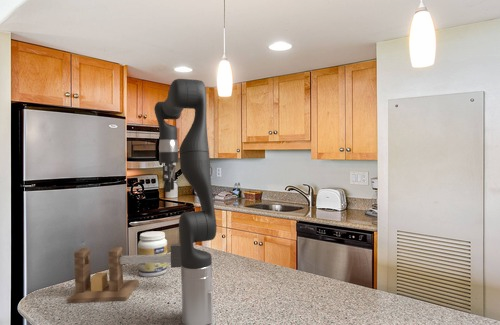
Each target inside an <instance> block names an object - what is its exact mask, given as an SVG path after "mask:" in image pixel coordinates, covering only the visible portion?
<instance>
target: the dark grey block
mask: <svg viewBox="0 0 500 325" xmlns="http://www.w3.org/2000/svg"><path fill="white" fill-rule="evenodd" d="M140 263H167V264H168V263H170V268H181V253H180V243H171V245H170V253H169V254H168V253H167V254H161V255H138V254H136V255H135V254H134V255H131V254H130V255H123V256H119V264H123V265H134V264H135V265H136V264H137V265H138V264H140Z"/></svg>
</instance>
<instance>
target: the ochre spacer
mask: <svg viewBox="0 0 500 325" xmlns="http://www.w3.org/2000/svg"><path fill="white" fill-rule="evenodd" d="M90 277H91V291H103V290H104V289H105V288H106V287H107V286H108V281H109V276H108V272H96V273H95V274H93V275H91V276H90Z"/></svg>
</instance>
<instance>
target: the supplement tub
mask: <svg viewBox="0 0 500 325" xmlns="http://www.w3.org/2000/svg"><path fill="white" fill-rule="evenodd" d="M165 237H166V233H165V231H159V230H157V231H153V230H152V231H145V232H142V233H140V235H139V241H138V244H137V255H161V254H168V240H167V239H166V238H165ZM137 265H138V266H137V267H138V268H137V269H138V270H137V271H138V274H139V275H140V276H141V277H146V278H147V277H150V278H151V277H158V276H162V275H163V274H165V273H166V272H167V271H168V266H169V265H168V263H140V264H137Z"/></svg>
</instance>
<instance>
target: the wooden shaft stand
mask: <svg viewBox="0 0 500 325" xmlns="http://www.w3.org/2000/svg"><path fill="white" fill-rule="evenodd" d="M73 256H74V258H73V259H74V285H75V286H74V292H73V293H72V294H71V295H70V296H69V297H68V298H67V299H66V304H80V303H85V304H86V302H87V303H104V302H105V303H107V302H110V303H111V302H127V301H128V300H129V298H130V296H131V295H132V294H133V293H134V291H135V289H136V288H137V287H138V285H139V283H140V280H139V279H124V266H123V265H124V264H119V256H124V255H123V247H122V246H115V247H113V248H111V249H110V250H109V251H108V286H107V287H106V288H105V289H104V290H103V291H91V277H92V276H91V248H90V247H82V248H80V249H78V250H76V251H75V252H74V255H73Z"/></svg>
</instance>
